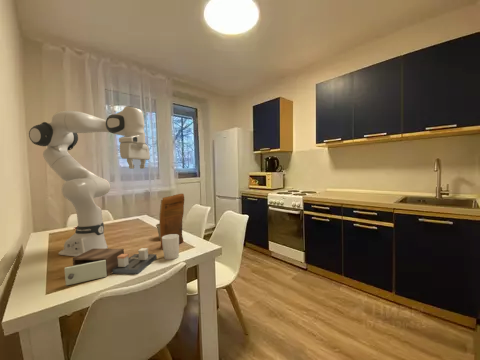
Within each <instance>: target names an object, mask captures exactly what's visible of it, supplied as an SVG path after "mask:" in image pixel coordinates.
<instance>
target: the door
mask: <svg viewBox="0 0 480 360" xmlns="http://www.w3.org/2000/svg"><path fill="white" fill-rule="evenodd" d="M107 276H108V275H107V272H106V260H101V261H96V262H91V263H86V264H81V265H75V266H73V265H72V266H67V267H66V266H65V267H64V280H65V286H71V285H75V284H79V283H84V282H88V281H92V280H96V279H101V278H107Z"/></svg>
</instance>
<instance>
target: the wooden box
mask: <svg viewBox="0 0 480 360" xmlns="http://www.w3.org/2000/svg"><path fill="white" fill-rule="evenodd" d="M121 254H125V251H124V248H107V249H91V250H89V251H87V252H85V253H83V254H80V255H78V256H76V257H75V256H73V257H72V266H75V265H81V264H86V263H91V262H96V261H101V260H106V272H107V276H109V275H111V274H112V269H113V268H114V267H116V266H117V265H118V258H117V256H119V255H121Z"/></svg>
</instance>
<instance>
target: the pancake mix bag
mask: <svg viewBox="0 0 480 360" xmlns="http://www.w3.org/2000/svg"><path fill="white" fill-rule="evenodd" d="M184 207H185V194H184V193H183V192H182V193H178V194H173V195H168V196H164V197H162V199H161V200H160V209H159V223H158V224H160V239H159V240H160V250H163V245H162V237H163V236H165V235H169V234H178V235H179V245H180V244H182V243H184V236H183V218H184V214H185V211H184V210H185V208H184Z"/></svg>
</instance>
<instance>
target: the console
mask: <svg viewBox="0 0 480 360" xmlns="http://www.w3.org/2000/svg"><path fill="white" fill-rule="evenodd" d="M157 258H158V257H157V254H155V253H154V254H153V253H148V258H147V259H146V260H139V253H134V254H132V255H131V256H130V257H128V261H129V264H128V265H127V266H125V267H118V265H117V266H116V267H114V268H113V269H112V273H111V274H112V275H139V274H140V273H142V271H143V270H145V268H147V267H148V266H149V265H150V264H152V263H153V262H154V261H156V260H157Z"/></svg>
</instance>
